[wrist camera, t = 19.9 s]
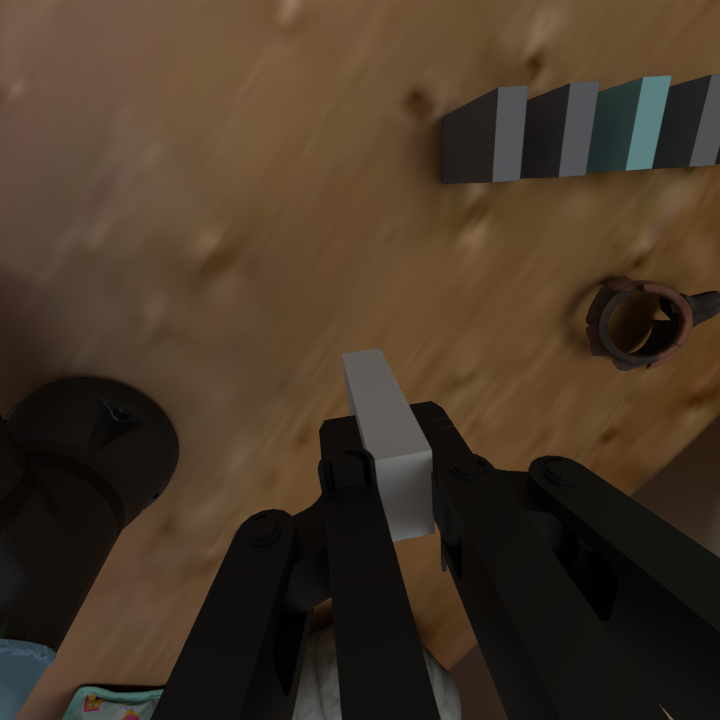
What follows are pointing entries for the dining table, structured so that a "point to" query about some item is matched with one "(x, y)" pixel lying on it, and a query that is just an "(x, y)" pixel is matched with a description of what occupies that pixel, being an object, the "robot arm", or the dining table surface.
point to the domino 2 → (559, 131)
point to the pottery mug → (664, 334)
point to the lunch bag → (111, 704)
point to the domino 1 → (485, 138)
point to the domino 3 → (690, 125)
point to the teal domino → (627, 125)
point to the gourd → (321, 686)
